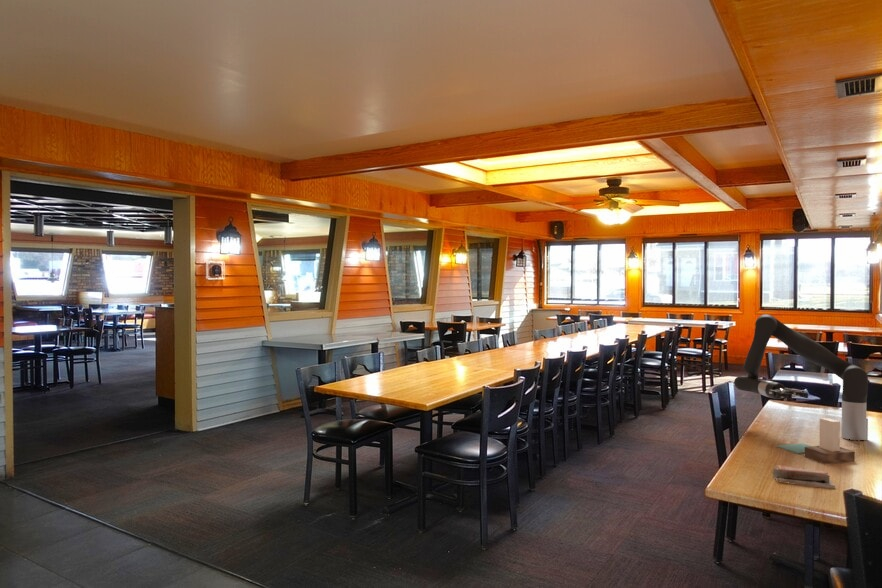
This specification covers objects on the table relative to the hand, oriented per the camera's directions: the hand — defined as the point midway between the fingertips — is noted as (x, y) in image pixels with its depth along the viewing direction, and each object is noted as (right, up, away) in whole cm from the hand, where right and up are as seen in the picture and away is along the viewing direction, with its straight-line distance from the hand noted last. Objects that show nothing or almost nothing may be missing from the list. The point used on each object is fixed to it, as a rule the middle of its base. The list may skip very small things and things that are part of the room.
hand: (799, 396), depth 256 cm
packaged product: (-29, -23, -48) cm, 61 cm away
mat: (-5, -21, -9) cm, 24 cm away
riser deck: (-2, -22, -23) cm, 31 cm away
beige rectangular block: (-2, -18, -23) cm, 29 cm away
